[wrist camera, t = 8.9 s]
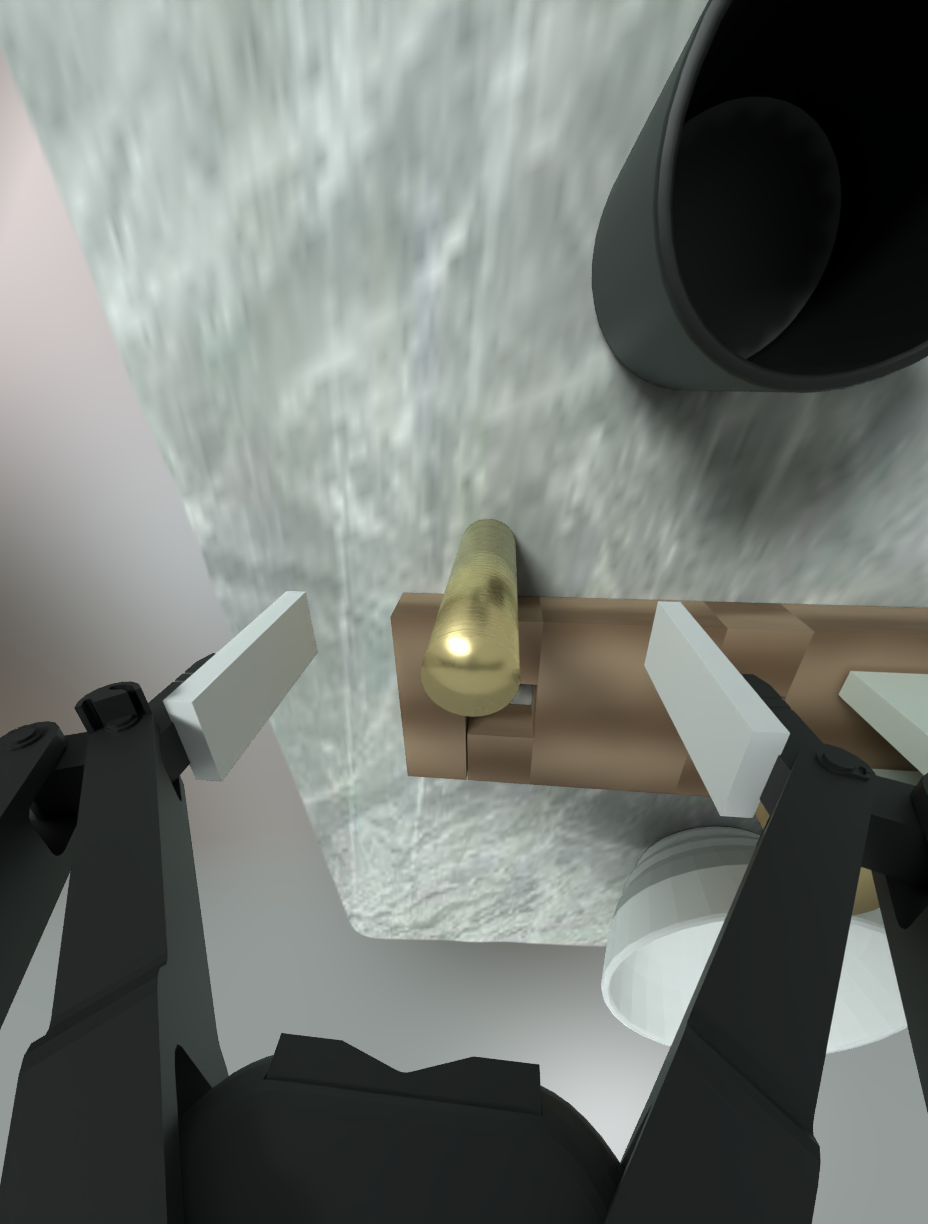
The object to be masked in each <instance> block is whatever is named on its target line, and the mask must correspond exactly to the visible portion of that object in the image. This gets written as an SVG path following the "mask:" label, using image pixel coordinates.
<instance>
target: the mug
mask: <svg viewBox="0 0 928 1224" xmlns="http://www.w3.org/2000/svg"><path fill="white" fill-rule="evenodd" d="M592 291H593V299H594V305H595V311H596V314H597V318H598V322H599V325H600V328H601V330H602V332H603V334H604V337H605V339H606V341H607V343H608V344H609V346H610V348H611V349H612V351H613V352H614V354H615V355H616V356H617V358H618V359H619V360H620V361H621V362H622V363H623V364H624V365H625V366H626V367H627V368H628V369H629V370H630V371H632V372H633V373H635V374H636V375H637V376H639V377H640V378H642V379H643V380H646V381H648V382H650V383H653V384H655V385H658V386H661V387H665V388H670V389H674V390H705V391H751V392H797V393H808V392H821V391H829V390H837V389H844V388H847V387H851V386H855V385H858V384H862V383H866V382H869V381H872V380H875V379H878V378H881V377H884V376H886V375H889V374H891V373H893V372H896V371H898V370H901V369H903V368H905V367H908V366H910V365H912V364H914V363H916V362H918V361H920V360H921V359H923V358H925V357H927V356H928V0H709V1H708V3H707V5H706V7H705V9H704V11H703V12H702V14H701V16H700V18H699V20H698V22H697V24H696V26H695V28H694V30H693V32H692V34H691V36H690V38H689V40H688V41H687V43H686V45H685V47H684V49H683V51H682V53H681V55H680V57H679V59H678V61H677V63H676V65H675V67H674V69H673V71H672V73H671V75H670V76H669V78H668V80H667V82H666V84H665V86H664V88H663V90H662V92H661V94H660V96H659V98H658V100H657V102H656V104H655V106H654V108H653V110H652V112H651V113H650V115H649V117H648V119H647V121H646V123H645V125H644V127H643V129H642V131H641V133H640V135H639V137H638V139H637V141H636V143H635V145H634V147H633V148H632V150H631V152H630V154H629V156H628V158H627V160H626V162H625V164H624V166H623V168H622V170H621V172H620V174H619V176H618V178H617V180H616V182H615V183H614V185H613V187H612V190H611V192H610V195H609V197H608V200H607V202H606V205H605V207H604V210H603V213H602V216H601V220H600V223H599V227H598V231H597V235H596V239H595V246H594V253H593V262H592Z"/></svg>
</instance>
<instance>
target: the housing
mask: <svg viewBox="0 0 928 1224" xmlns="http://www.w3.org/2000/svg"><path fill="white" fill-rule="evenodd" d="M838 695H839V696H840V697H841V698H842V699H843V700H844V701H845V702H846V703H848V704H849V705H850V706H851V707H852V708H853V709H854V710H855V711H856V712H857V713H858V714H859V715H860V716H861V717H862V718H863V719H865V720H866V721H867V722H868V723H869V724H870V725H871V726H872V727H873V728H874V729H875V730H876V731H877V732H878V733H879V734H881V735H882V736H883V737H884V738H885V739H886V740H887V741H888V742H889V743H890V744H891V745H892V746H893V747H894V748H895V749H896V750H898V751H899V752H900V753H901V754H902V755H903V756H904V757H905V758H906V759H907V760H908V761H909V762H910V763H911V764H912V765H914V766H915V767H916V768H917V769H918V770H919V771H920V772H918V771H902V770H885V769H872V770H873V771H874V772H875V774H876V775H877V776H880V777H884V778H888V779H892V780H896V781H900V782H903V783H907V784H911V785H915V786H916V785H917V784H918V782H919V781H920V779H921V778H922V776H924V775H925V774H927V773H928V674H912V673H888V672H864V671H850V673H849V675H848V677H847V679H846V681H845V683H844V685H843V687H842V689H841V690H840V692H839V694H838Z"/></svg>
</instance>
